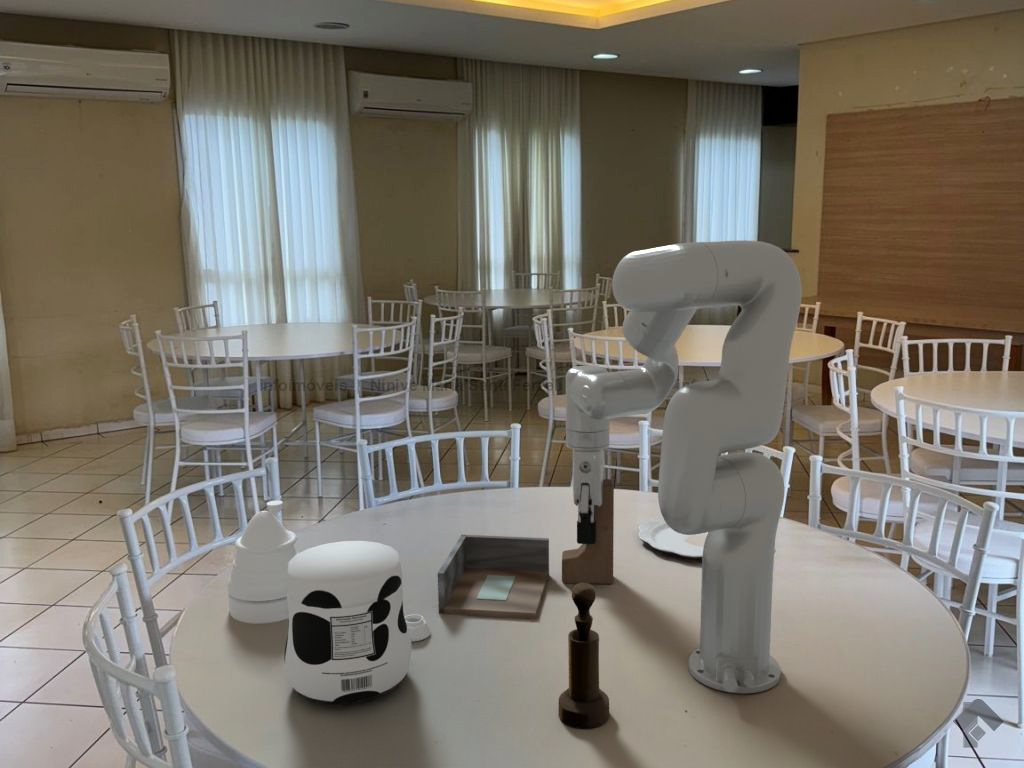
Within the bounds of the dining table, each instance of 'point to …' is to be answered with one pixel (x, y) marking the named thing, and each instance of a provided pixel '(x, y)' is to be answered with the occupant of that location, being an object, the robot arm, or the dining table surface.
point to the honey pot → (261, 569)
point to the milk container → (346, 622)
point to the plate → (668, 539)
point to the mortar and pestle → (583, 669)
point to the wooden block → (594, 547)
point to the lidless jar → (417, 627)
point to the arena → (494, 576)
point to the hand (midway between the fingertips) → (587, 536)
